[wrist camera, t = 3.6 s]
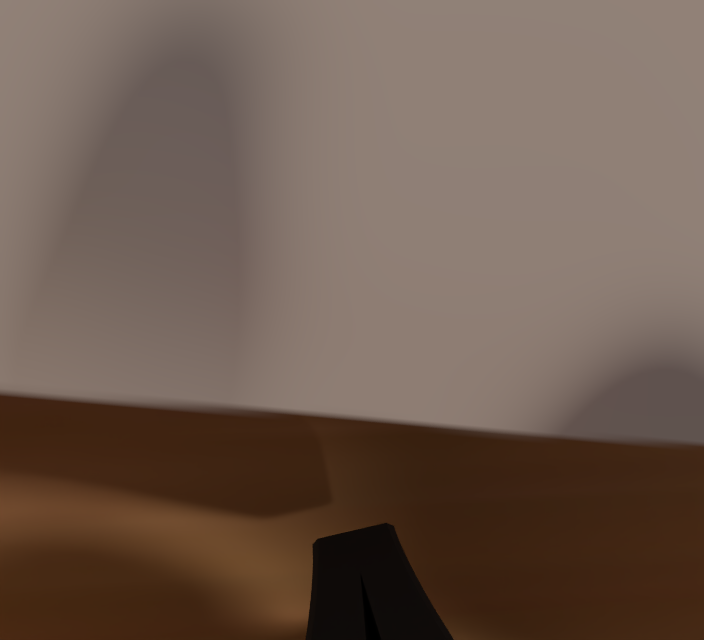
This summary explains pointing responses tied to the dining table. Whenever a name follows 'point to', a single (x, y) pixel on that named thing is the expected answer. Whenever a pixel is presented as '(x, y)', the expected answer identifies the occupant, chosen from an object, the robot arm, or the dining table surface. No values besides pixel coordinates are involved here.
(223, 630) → the dining table surface
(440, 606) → the dining table surface
